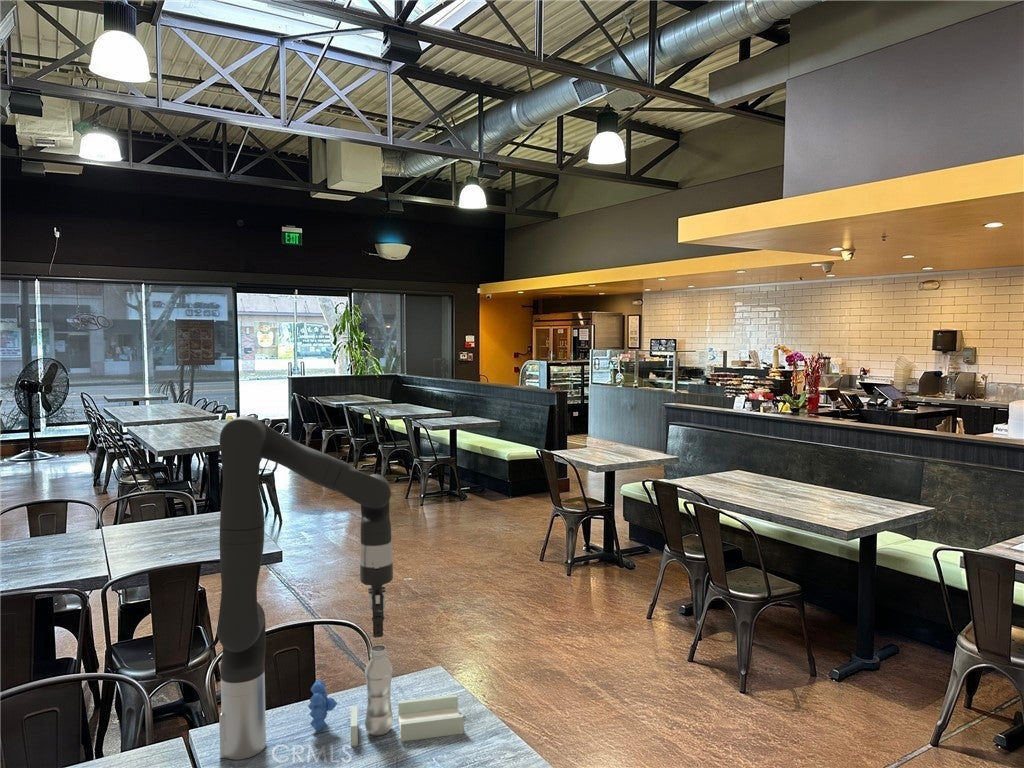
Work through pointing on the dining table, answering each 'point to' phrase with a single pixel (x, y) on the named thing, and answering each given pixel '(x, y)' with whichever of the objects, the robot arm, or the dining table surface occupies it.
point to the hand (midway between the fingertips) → (377, 629)
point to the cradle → (429, 717)
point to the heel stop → (354, 726)
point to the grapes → (320, 705)
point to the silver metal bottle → (378, 692)
